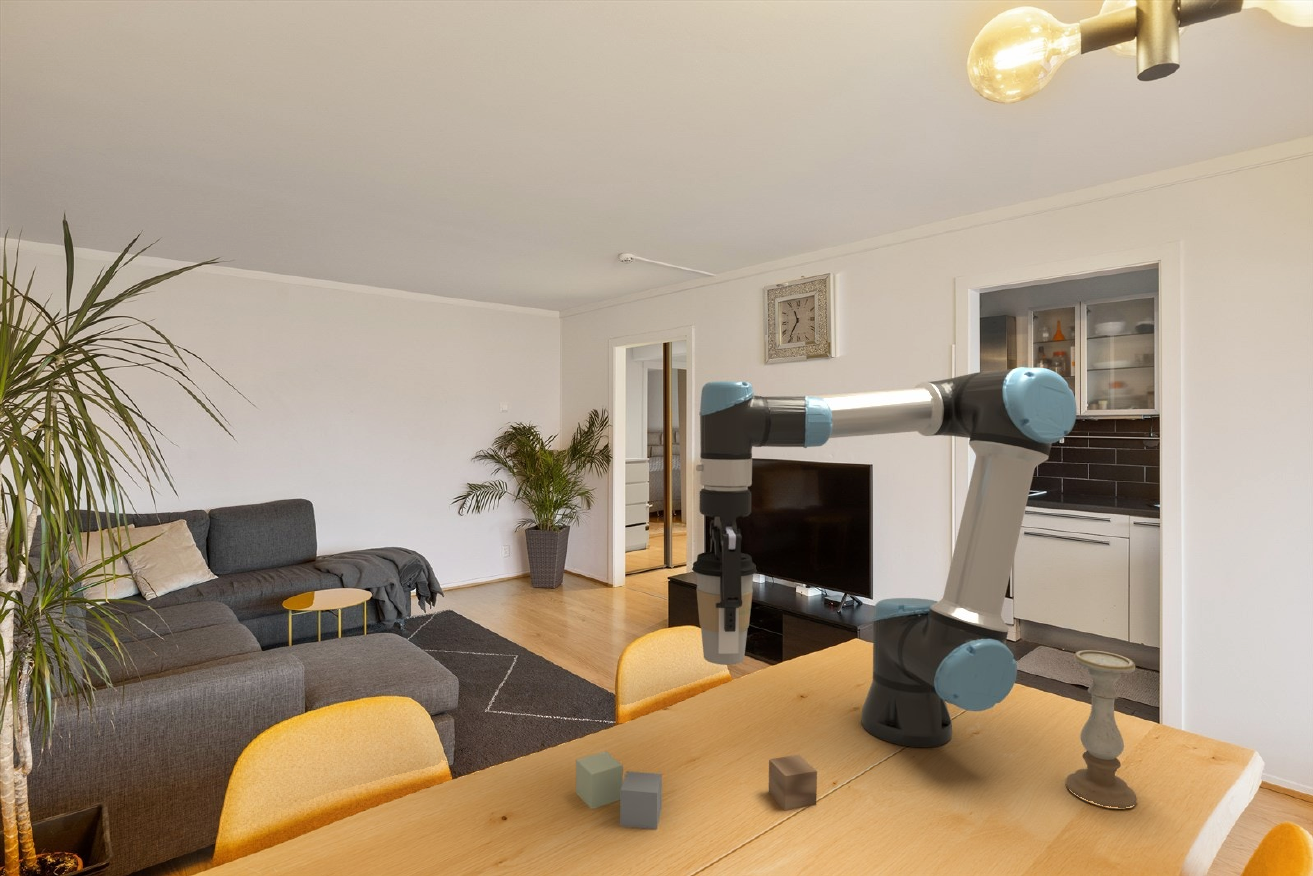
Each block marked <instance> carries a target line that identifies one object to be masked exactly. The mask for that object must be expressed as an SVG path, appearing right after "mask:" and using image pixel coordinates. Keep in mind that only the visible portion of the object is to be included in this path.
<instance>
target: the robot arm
mask: <svg viewBox="0 0 1313 876" xmlns="http://www.w3.org/2000/svg"><path fill="white" fill-rule="evenodd" d="M1076 401H1077V400H1076V398H1075V394H1074V391H1073V390H1072V389H1070V387H1069V384H1068V382H1067V381H1066V380H1065V379H1064V377H1062V376H1061V375H1060V374H1059V373H1057V372H1055V371H1054V370H1051V369H1049V368H1045V367H1044V368H1043V367H1027V366H1019V367H1015V368H1010V369H1001V370H1000V369H999V370H992V371H980V372H973V373H968V374H963V375H960V376H956V377H955V376H954V377H951V378H947V379H941V380H935V381H934V380H933V381H923V382H920V383H918V384H917V385H916V386H915V387H914V388H902V389H888V390H885V389H883V390H872V391H871V390H870V391H859V392H843V393H827V394H814V395H801V396H800V395H799V396H798V395H796V396H763V395H755V393H754V391H753V385H752V384H751V382H747V381H733V380H731V381H730V380H729V381H728V380H727V381H726V380H725V381H724V380H723V381H711V382H707V383H705V384H703V386H702V387H701V395H700V407H699V410H700V411H699V425H700V426H699V429H700V431H699V433H700V434H699V435H700V437H699V438H700V439H699V441H700V452H699V453H700V455H699V456H700V457H699V458H700V459H699V461H700V463H701V464H697V465H696V466H695V470H696V471H697V472H700V474H699V483H700V485H701V486H704V487H703V488H701V490H700V491H699V505H698V507H699V513H700V514H701V515H702V516H706V517H712V518H714V520H711V521H710V522H709V534H710V535H709V536H710V550H709V552H712V553H713V554H715V558H716V559H717V560H719V561H722V566H721V565H720V570H722V577H720V598H721V602H720V603H716V604H715V605H716V608H719V649H718V652H719V654H737V653H738V647H739V607H741V606H742V592H741V553H742V540H743V537H742V533H741V528H738V526H737V521H736V520H737V518H742V517H743V518H744V517H747V516H749V515H750V514H751V513H752V491H751V490H750V489H749V488H748V487H751V486H752V484H753V481H752V479H753V452H752V451H753V447H755V448H759V447H760V448H761V447H763V448H764V447H768V448H770V447H772V448H773V447H774V448H775V447H776V448H803V449H807V448H810V447H811V448H814V447H822V446H824V445H825V444H826V443H827V442H828V441H829V439H834V438H835V439H837V438H848V437H850V438H851V437H859V436H861V437H862V436H873V435H875V436H876V435H888V434H899V433H911V432H917V433H918V434H920V435H921V436H925V437H934V436H944V437H945V436H946V437H957V438H958V437H959V438H965V439H969V440H968V445H969V447H970V448H971V449H972V451H973V452H974V454H975V460H974V464H973V469H972V473H971V477H970V482H969V486H968V490H967V494H966V499H965V502H964V508H963V510H962V511H963V512H962V515H961V520H960V523H959V529H958V533H957V536H956V540H955V545H954V549H953V552H952V559H951V563H950V566H949V570H948V575H947V579H946V584H945V588H944V593H943V595H942V598H941V600H940V599H939V600H934V599H927V598H914V597H912V598H911V597H897V598H894V597H893V598H886V599H885V598H884V599H882V600H879V601H877V602H876V604H875V605H874V610H873V617H872V624H873V626H872V627H873V632H872V633H873V634H872V635H873V636H872V638H873V640H872V642H873V643H872V649H873V651H872V682H871V685H870V687H869V690H868V693H867V696H866V697H865V701H864V703H863V707H862V710H861V724H862V726H863V728H864V729H865V730H866V731H867V732H868V733H869V734H870V735H873V736H874V737H876V738H879V740H882V741H883V740H884V741H886V742H889V743H890V744H891V743H892V744H895V745H900V746H904V747H912V748H931V747H933V748H934V747H938V746H943V745H946V743H949V742H950V740H951V739H952V737H953V722H952V718H951V715H950V712H949V709H948V706H947V703H948V704H950V705H954V706H956V707H958V708H960V709H961V710H964V711H968V712H983V711H987V710H989V709H991V708H993V707H994V706H995V705H996V704H1000V703H1001V702H1003V700H1005V699H1006V698H1007V697H1008V695H1009V694H1010V693H1011V691H1012V690H1013V687H1014V685H1015V684H1016V679H1017V675H1018V665H1017V661H1016V659H1014V654H1013V652H1012V651H1011V650H1010V648H1009V647H1008V646H1007V645H1006V644H1007V643H1006V642H1007V638H1008V634H1009V627H1008V626H1007V624H1006V623H1005V621H1004V620H1003V618H1002V612H1003V607H1004V602H1005V598H1006V594H1007V590H1008V585H1009V581H1010V577H1011V572H1012V568H1013V563H1014V559H1015V555H1016V550H1017V547H1018V542H1019V538H1020V534H1021V529H1022V525H1023V520H1024V517H1025V516H1024V515H1025V512H1026V507H1027V504H1028V499H1029V495H1030V491H1031V490H1030V489H1031V486H1032V482H1033V477H1034V474H1035V468H1036V467H1037V466H1039V465H1040V464H1043V463H1044V462H1046V461H1048V460H1049V457H1050V452H1051V448H1052V445H1053V443H1054V444H1056V443H1057V442H1059V441H1062V440H1063V439H1064V438H1065V436H1066V435H1069V433H1070V432H1071V431H1072V430H1073V428H1074V426H1075V423H1076V419H1077V412H1078V411H1077V402H1076ZM728 597H734V598H728Z"/></svg>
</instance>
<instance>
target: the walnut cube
mask: <svg viewBox="0 0 1313 876" xmlns="http://www.w3.org/2000/svg"><path fill="white" fill-rule="evenodd" d="M817 780H818V771H817V769H816V768H814V767H813V766H812V765H811V764H810V763H809V762H808V761H807V760H805V759H804V758H803V756H801V755H800V754H794V755H788V756H782V757H781V756H780V757H775V758H769V759H768V794H769V795H770V796H771V797H772V798H773V799H774V800H775V802H777V804H778V805H779V806H780V807H781V808H782V809H783V810H784V812H786V811H792V810H797V809H802V808H807V807H812V806H817V797H818V796H817V792H818V791H817V789H818V788H817V787H818V781H817Z"/></svg>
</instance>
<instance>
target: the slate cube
mask: <svg viewBox="0 0 1313 876" xmlns="http://www.w3.org/2000/svg"><path fill="white" fill-rule="evenodd" d="M662 776H663V774H662V773H657V772H656V773H653V772H642V771H641V772H640V771H626V773H625V775H624V777H623V784H622V787H621V790H620V800H619V801H620V802H619V805H620V806H619V810H620V811H619V826H620V827H626V828H627V827H628V828H638V829H647V830H648V829H649V830H650V829H651V830H658V825H659V821H660V817H661V812H662V797H663V795H662V794H663V793H662V791H663V790H662V787H663V785H662V782H663V781H662V780H663V779H662V778H663V777H662Z"/></svg>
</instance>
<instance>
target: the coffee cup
mask: <svg viewBox="0 0 1313 876" xmlns="http://www.w3.org/2000/svg"><path fill="white" fill-rule="evenodd" d="M696 557H697V558H696V561H694V562H693V563H692V568H691V570H692V571H693V572H694V573H695V574H696V575H695V576H696V598H697V599H696V600H697V609H698V611H697V612H698V621H699V627H700V631H701V641H702V642H701V643H702V651H703V658H704V660H705V661H706V662H709V663H710V664H711V663H712V664H715V665H720V666H732V665H737V664H740V663H742V662H743V661H744V659H745V653H746V645H747V637H748V628H750V627H749V626H750V617H751V609H752V600H753V593H754V591H753V590H754V589H753V583H754V582H753V581H754V575H755V574H756V573H757V572H758V570H757V565H756V564H755V563H754V562H753V558H752V555H749V554H747V553H744V552H741V592H742V606H741V607H739V647H738V653H737V654H719V652H718V649H719V608H716V605H715V604H716V603H720V602H721V598H720V577H722V570H720V565H721V566H722V561H719V560H717V559H716V558H715V554H713V553H712V552H710V551H705V552H701V553H699V554H697V556H696ZM728 598H734V597H728Z"/></svg>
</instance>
